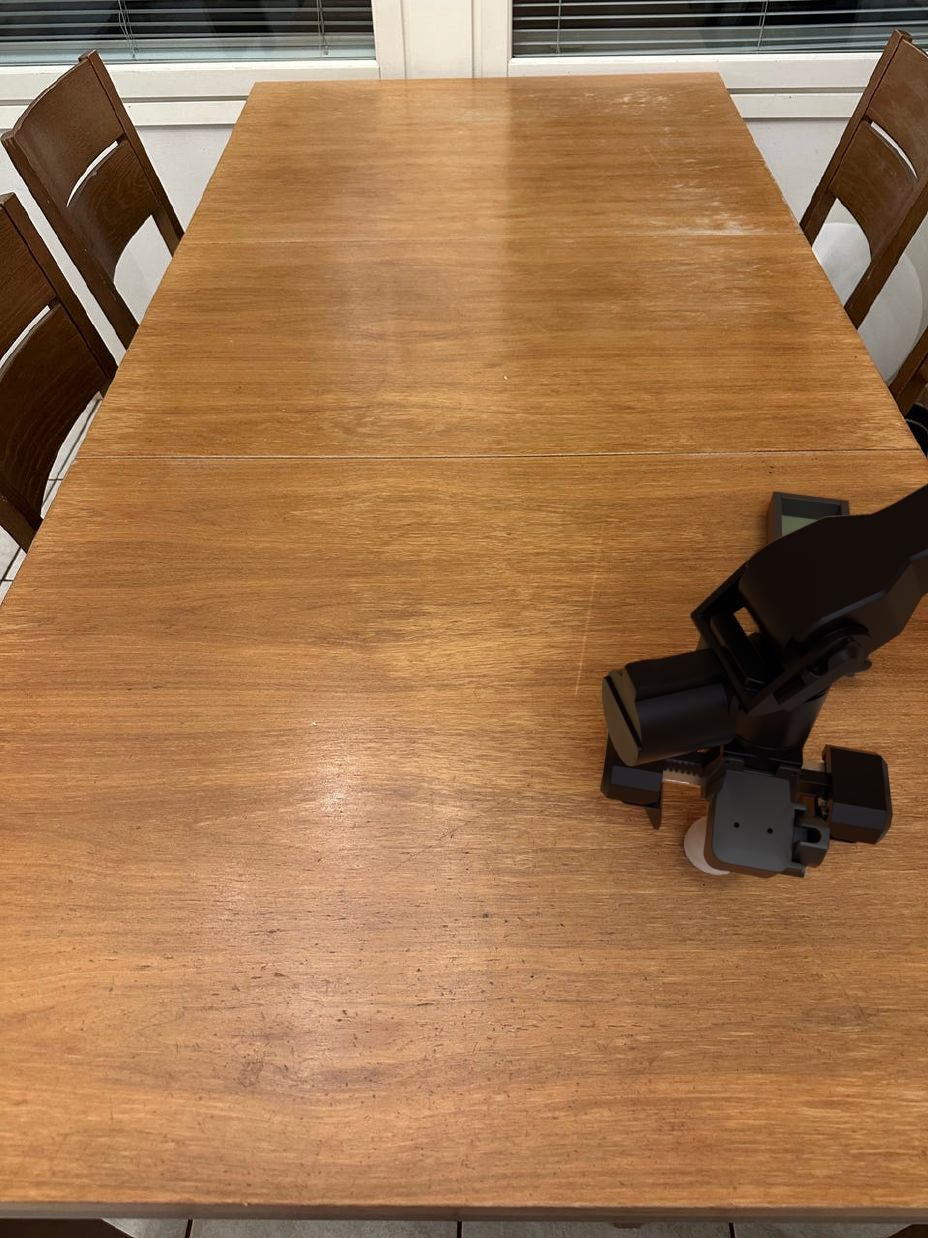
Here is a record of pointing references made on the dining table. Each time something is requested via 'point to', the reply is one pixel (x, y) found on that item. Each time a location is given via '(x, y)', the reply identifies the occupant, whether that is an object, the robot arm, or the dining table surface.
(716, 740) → the robot arm
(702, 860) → the rook chess piece
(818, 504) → the rack
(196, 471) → the dining table surface
